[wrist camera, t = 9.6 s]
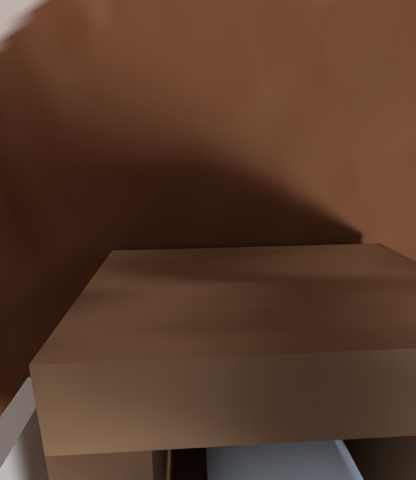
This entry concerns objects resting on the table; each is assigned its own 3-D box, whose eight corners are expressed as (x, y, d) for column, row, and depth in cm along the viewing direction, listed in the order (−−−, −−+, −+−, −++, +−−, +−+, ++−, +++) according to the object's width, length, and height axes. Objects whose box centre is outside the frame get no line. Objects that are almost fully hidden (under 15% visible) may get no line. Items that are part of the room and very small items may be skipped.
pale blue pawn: (159, 435, 14) (107, 942, 5) (148, 273, 12) (36, 629, 3) (329, 425, 14) (559, 882, 5) (345, 266, 12) (741, 571, 3)
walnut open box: (131, 466, 13) (89, 706, 8) (112, 250, 11) (28, 365, 5) (352, 453, 14) (468, 671, 8) (380, 243, 11) (574, 341, 6)
